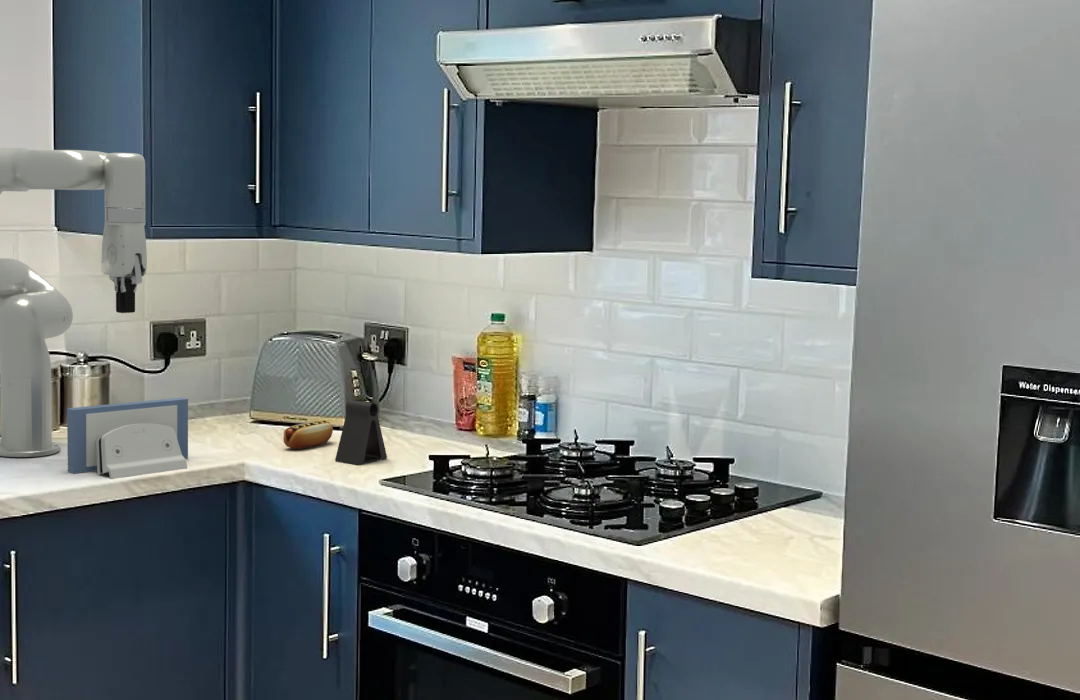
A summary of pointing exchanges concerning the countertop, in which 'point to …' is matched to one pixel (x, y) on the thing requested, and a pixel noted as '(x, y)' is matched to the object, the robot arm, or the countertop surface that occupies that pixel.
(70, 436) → the cabinet side
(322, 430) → the hot dog
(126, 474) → the hinge
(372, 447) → the dark grey a-frame stand
